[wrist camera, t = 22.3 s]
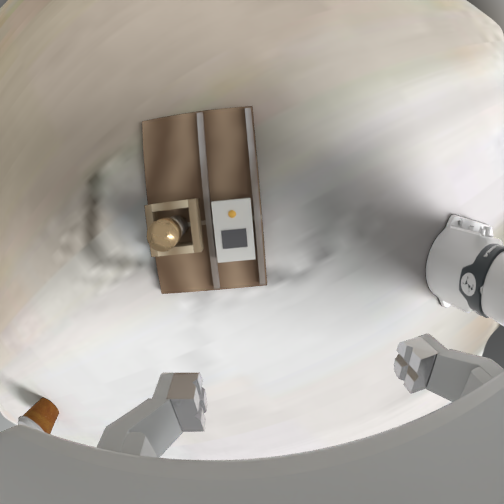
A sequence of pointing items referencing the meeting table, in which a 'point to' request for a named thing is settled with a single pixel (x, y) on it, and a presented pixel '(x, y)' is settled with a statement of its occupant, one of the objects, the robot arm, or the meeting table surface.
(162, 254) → the socket
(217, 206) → the block
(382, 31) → the meeting table surface
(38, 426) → the disposable coffee cup
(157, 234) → the grey and tan cylinder
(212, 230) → the board
